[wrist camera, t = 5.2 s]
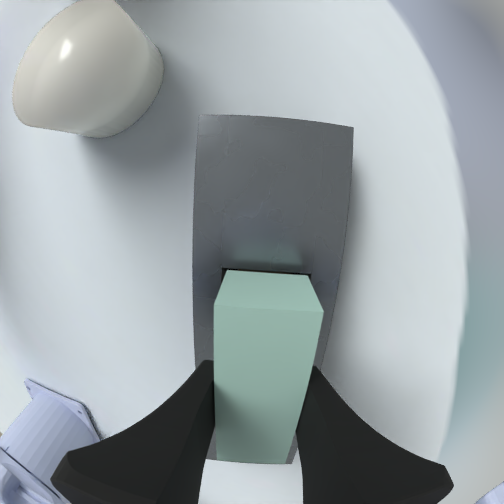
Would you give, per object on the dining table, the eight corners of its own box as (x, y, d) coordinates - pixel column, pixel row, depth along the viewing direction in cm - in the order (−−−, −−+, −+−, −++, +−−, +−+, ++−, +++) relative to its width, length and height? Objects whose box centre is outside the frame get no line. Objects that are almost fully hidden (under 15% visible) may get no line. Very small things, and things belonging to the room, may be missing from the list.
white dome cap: (156, 132, 12) (105, 111, 7) (63, 144, 12) (3, 139, 7) (172, 29, 11) (139, -20, 6) (80, 51, 11) (32, 24, 6)
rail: (289, 438, 17) (291, 464, 14) (209, 433, 17) (204, 458, 14) (337, 137, 12) (353, 127, 9) (210, 127, 12) (199, 115, 9)
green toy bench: (279, 382, 15) (285, 463, 9) (229, 379, 15) (216, 460, 9) (297, 254, 13) (323, 311, 7) (234, 250, 13) (213, 304, 7)
